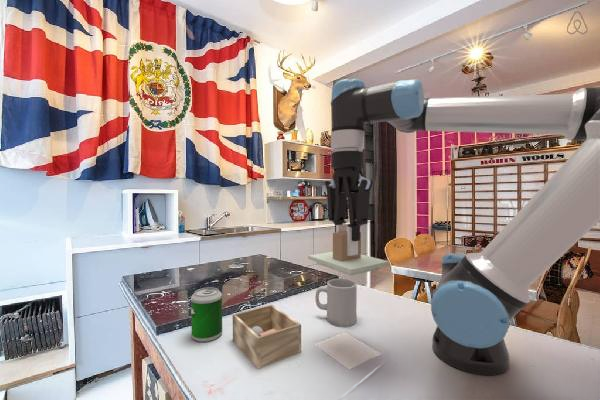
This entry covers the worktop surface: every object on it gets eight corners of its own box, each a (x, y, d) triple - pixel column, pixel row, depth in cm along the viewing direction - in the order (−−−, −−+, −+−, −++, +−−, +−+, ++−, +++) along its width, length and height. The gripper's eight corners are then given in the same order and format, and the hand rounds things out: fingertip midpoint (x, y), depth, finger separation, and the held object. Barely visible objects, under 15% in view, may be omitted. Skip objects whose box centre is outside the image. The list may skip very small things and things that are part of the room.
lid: (388, 269, 65) (389, 234, 64) (350, 278, 58) (351, 239, 58) (343, 256, 77) (343, 227, 76) (308, 262, 70) (308, 230, 70)
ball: (266, 342, 71) (266, 327, 71) (252, 346, 69) (252, 332, 69) (259, 336, 74) (259, 322, 74) (246, 340, 72) (246, 326, 72)
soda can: (227, 332, 77) (227, 287, 77) (212, 347, 70) (211, 298, 70) (203, 328, 79) (202, 285, 79) (185, 342, 72) (184, 295, 72)
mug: (357, 315, 88) (357, 279, 87) (355, 328, 79) (356, 288, 79) (317, 311, 90) (317, 276, 90) (312, 323, 82) (312, 285, 82)
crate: (301, 354, 67) (301, 324, 67) (257, 371, 61) (257, 338, 60) (271, 330, 79) (271, 304, 78) (232, 342, 72) (232, 314, 72)
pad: (381, 356, 66) (381, 353, 66) (349, 372, 60) (349, 369, 60) (344, 334, 76) (344, 332, 76) (314, 346, 70) (314, 343, 70)
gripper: (386, 149, 62) (385, 258, 63) (336, 155, 75) (335, 246, 76) (362, 146, 58) (361, 263, 59) (313, 153, 71) (313, 249, 72)
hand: (346, 253), depth 67 cm, fingers closed on lid, 3 cm apart
